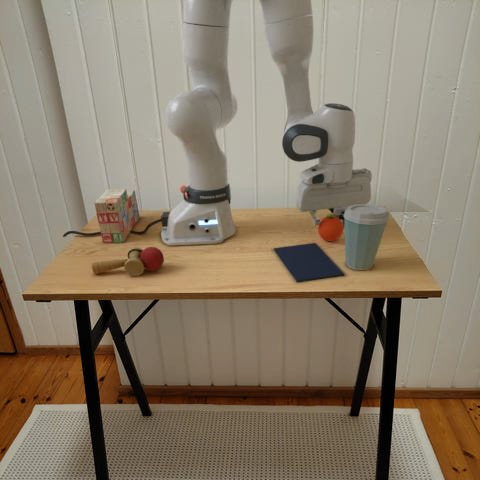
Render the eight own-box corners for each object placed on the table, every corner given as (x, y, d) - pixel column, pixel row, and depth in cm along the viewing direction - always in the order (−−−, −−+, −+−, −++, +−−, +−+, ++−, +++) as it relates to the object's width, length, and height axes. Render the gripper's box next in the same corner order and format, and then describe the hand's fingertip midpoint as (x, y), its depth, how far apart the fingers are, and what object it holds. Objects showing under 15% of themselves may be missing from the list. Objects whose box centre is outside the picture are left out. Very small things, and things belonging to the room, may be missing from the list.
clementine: (314, 234, 132) (315, 211, 128) (337, 233, 133) (339, 209, 129) (320, 245, 126) (321, 221, 122) (344, 244, 126) (347, 219, 122)
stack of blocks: (121, 217, 151) (114, 180, 145) (140, 217, 151) (133, 180, 144) (102, 243, 133) (93, 202, 127) (123, 242, 133) (115, 201, 126)
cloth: (297, 282, 108) (297, 280, 108) (273, 249, 125) (273, 248, 124) (344, 275, 110) (344, 274, 110) (315, 244, 127) (315, 242, 126)
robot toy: (375, 229, 136) (361, 209, 148) (378, 215, 134) (363, 195, 146) (335, 231, 136) (324, 211, 148) (337, 217, 133) (325, 198, 145)
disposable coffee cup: (335, 256, 119) (340, 200, 111) (377, 255, 119) (385, 199, 111) (342, 275, 110) (347, 215, 102) (387, 274, 110) (396, 214, 102)
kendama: (94, 286, 113) (164, 271, 113) (86, 262, 111) (158, 247, 110) (101, 277, 120) (167, 263, 120) (93, 254, 118) (161, 240, 118)
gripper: (366, 164, 123) (362, 214, 130) (294, 173, 120) (294, 223, 127) (377, 170, 117) (372, 221, 125) (302, 179, 115) (301, 231, 122)
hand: (332, 222), depth 126 cm, fingers open, 8 cm apart
